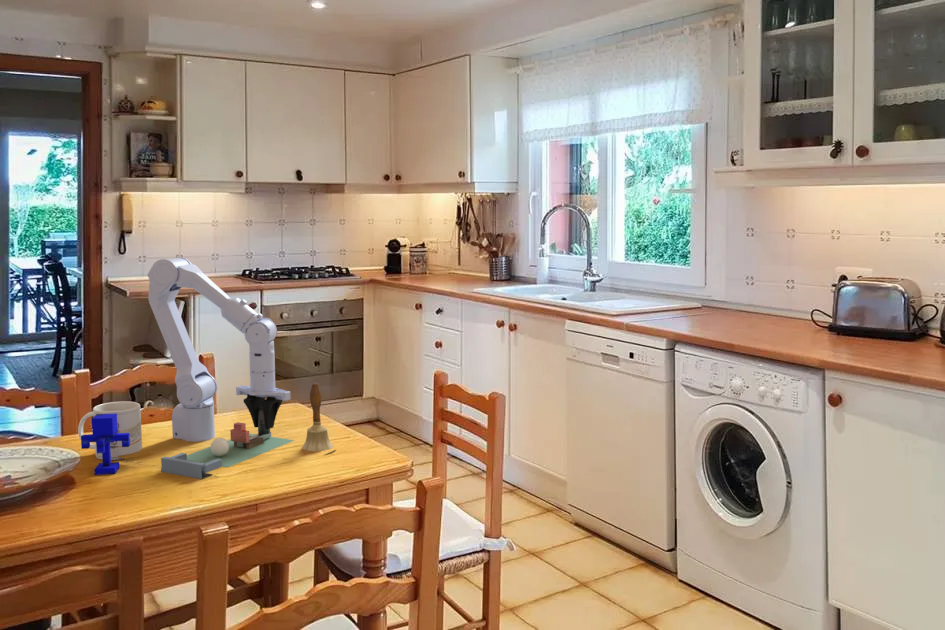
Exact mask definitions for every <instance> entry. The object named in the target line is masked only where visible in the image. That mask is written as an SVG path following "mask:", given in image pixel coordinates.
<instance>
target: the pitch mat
mask: <svg viewBox="0 0 945 630" xmlns="http://www.w3.org/2000/svg"><path fill="white" fill-rule="evenodd" d="M253 435H256V434H255V433H250V432H249V436H253ZM227 441H228V443H229V451H228V452H227V453H226V454H225V455H223V456H216V455H214V454H213V453H212V452H211V449H210V447H211V446H208V447H206V448H205V447H204V448H202V449H200V450H197V451H195V452H193V453H189V454H187V460H188V461H194V462H199V463H208V462H210V461H213V460H215V459H222V467H223V468H230V467H233V466H235V465H237V464H240V463H243V462H245V461H247V460H250V459H253V458H254V457H258V456H260V455H262V454H264V453H267V452H270V451H272V450H275V449H277V448H280V447H282V446H285V445H287V444H289V443H292V442H295V440H294V439H288V438H281V437H276V436H271V437H270V438H267V439H265V440H263V444H261V445H259V446H256V447H253V448H251V449H246V447H244V448H242V447H234V441H231V438H230V439H228V440H227Z"/></svg>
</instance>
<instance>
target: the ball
mask: <svg viewBox="0 0 945 630" xmlns="http://www.w3.org/2000/svg"><path fill="white" fill-rule="evenodd" d="M210 443H211V444H210V446H209V447H210V449H211V452H212V453H213V454H214V455H216V456H223V455H225V454H226V453H227V452H228V451H229V443H228V440H226V438H222V437H218V438H217V437H216V438H214V440H213V441H212V442H210Z"/></svg>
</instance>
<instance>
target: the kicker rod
mask: <svg viewBox="0 0 945 630" xmlns="http://www.w3.org/2000/svg"><path fill="white" fill-rule="evenodd" d="M257 414H258V427H257V434H256V435H253V436H251V437H249V433H250V430H247V429H246V423H245V422H239V421H238V422H234V423H233V429H232V428H231V429H230V430H229V431H230V439H231V441H234V442H237V447H242V448H244V447H246V443H248V442H250V441H251V440H254V439H256V438H259V437H262V438H263V440H265V439H267V438H270V437H272V431H271V428H270V429H266V427H265V416H264V411H263V407H259V408H257Z"/></svg>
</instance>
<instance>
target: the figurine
mask: <svg viewBox="0 0 945 630" xmlns="http://www.w3.org/2000/svg"><path fill="white" fill-rule="evenodd" d="M91 430H92V433H91V434H84V435H82V436H81V440H80V442H81V443H80V446H81V449H82V450H85V449H90V448H89V447H90V443H95V442H96V448H97V453H102V459H101V460H102V462H99V463H98V464H97V465H96V466H95V468H94V470H93V471H94V476H97V475H98V476H99V475H100V476H101V475H115V474H116V473H117V472H118V471H119V470H120V462H119V461H114V462H113V461H112V460H111V452H110V443H113V442H114V441H122V447H129V446H130V433H117V432H118V427H117V413H115V414H96V415H95V416H94V417H93V416H92V418H91Z"/></svg>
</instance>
